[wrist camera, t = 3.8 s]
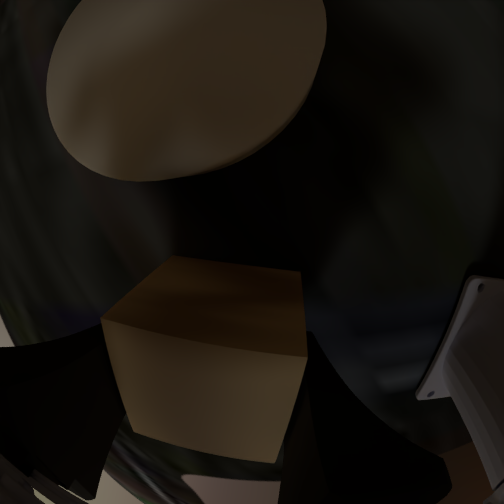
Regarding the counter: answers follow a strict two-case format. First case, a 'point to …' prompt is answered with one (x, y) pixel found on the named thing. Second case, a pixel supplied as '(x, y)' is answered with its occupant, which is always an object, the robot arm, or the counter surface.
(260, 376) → the oak cube
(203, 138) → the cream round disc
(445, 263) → the counter surface
